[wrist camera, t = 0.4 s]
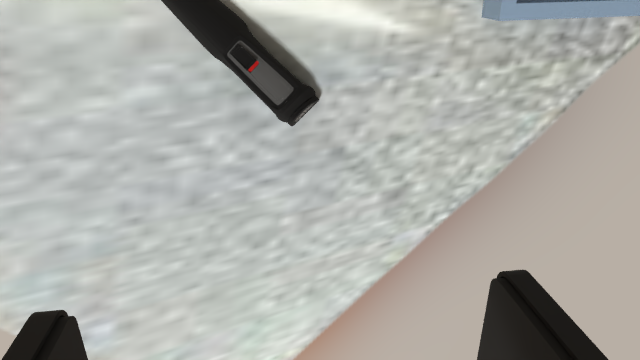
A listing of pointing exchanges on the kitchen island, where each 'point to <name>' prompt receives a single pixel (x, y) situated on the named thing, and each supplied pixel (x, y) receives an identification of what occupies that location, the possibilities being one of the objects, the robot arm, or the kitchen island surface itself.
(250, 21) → the kitchen island surface
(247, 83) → the electric trimmer
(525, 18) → the parts tray
